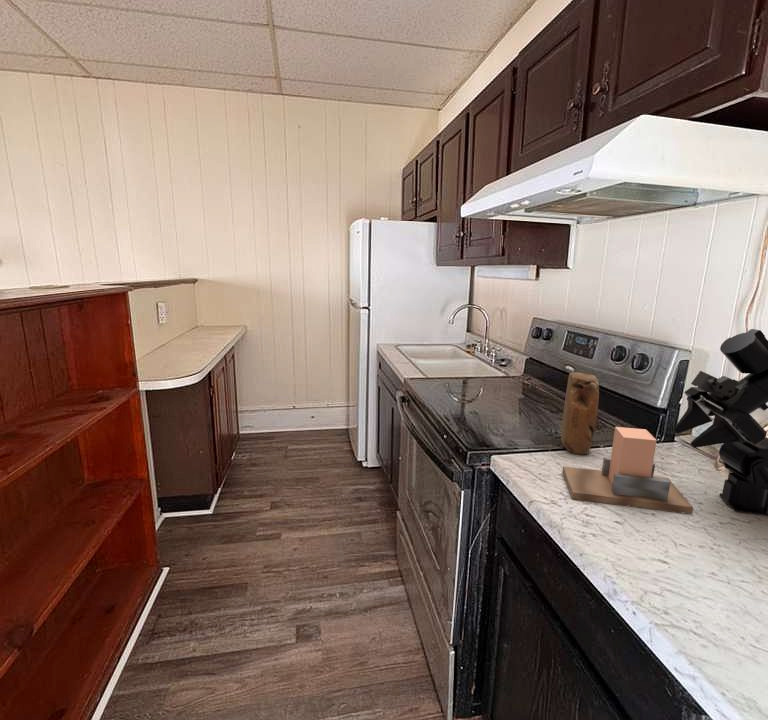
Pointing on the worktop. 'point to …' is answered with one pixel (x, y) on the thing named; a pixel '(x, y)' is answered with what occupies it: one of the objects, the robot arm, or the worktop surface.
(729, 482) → the robot arm
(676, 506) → the chute
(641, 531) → the worktop surface
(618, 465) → the block
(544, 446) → the worktop surface
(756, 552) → the worktop surface
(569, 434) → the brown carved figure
